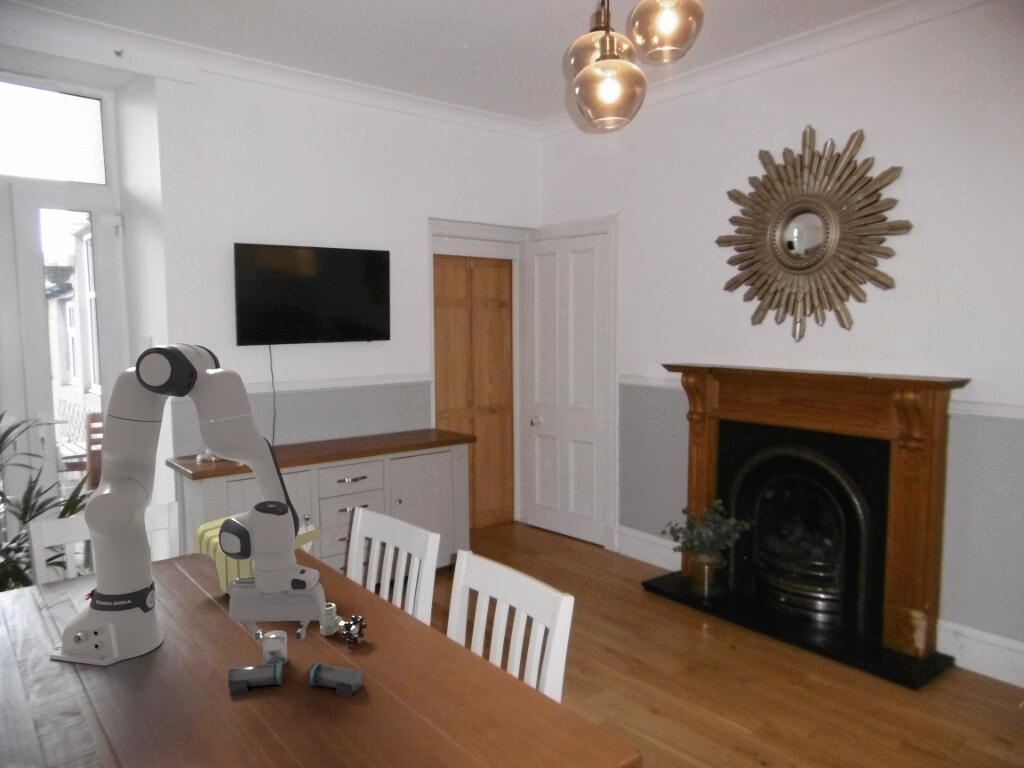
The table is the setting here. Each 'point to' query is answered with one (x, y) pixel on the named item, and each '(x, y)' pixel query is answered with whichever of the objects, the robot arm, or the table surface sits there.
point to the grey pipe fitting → (254, 676)
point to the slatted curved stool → (225, 565)
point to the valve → (341, 624)
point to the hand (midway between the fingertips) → (279, 638)
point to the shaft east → (336, 678)
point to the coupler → (275, 647)
